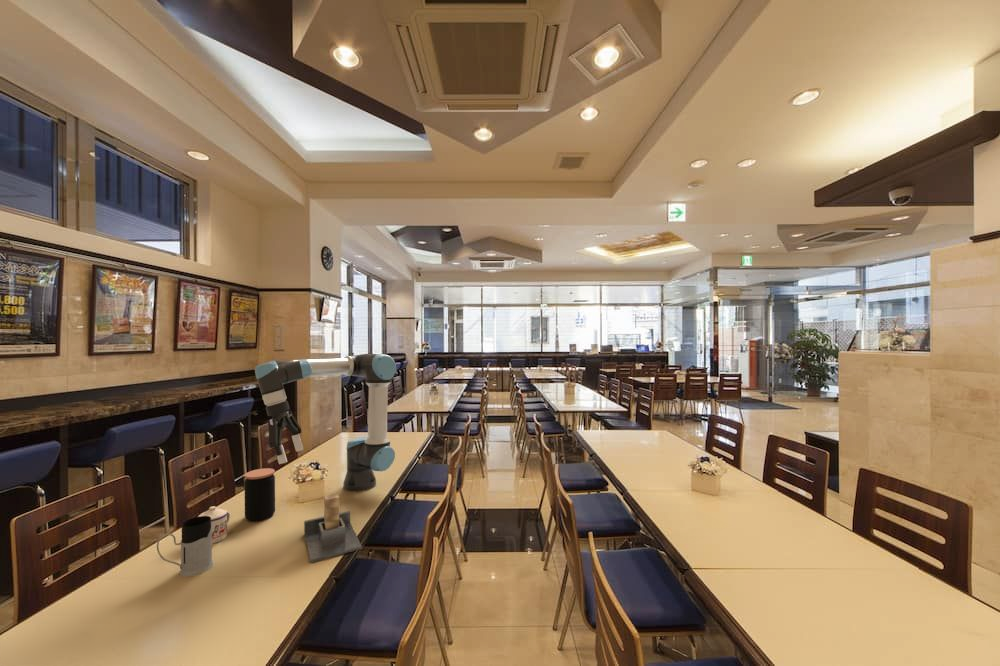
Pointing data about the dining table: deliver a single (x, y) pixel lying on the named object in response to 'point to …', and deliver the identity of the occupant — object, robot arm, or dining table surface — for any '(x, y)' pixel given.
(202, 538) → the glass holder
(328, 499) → the wooden block
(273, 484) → the coffee jar
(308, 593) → the dining table surface
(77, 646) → the dining table surface
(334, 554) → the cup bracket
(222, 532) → the teacup with lid
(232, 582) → the dining table surface
